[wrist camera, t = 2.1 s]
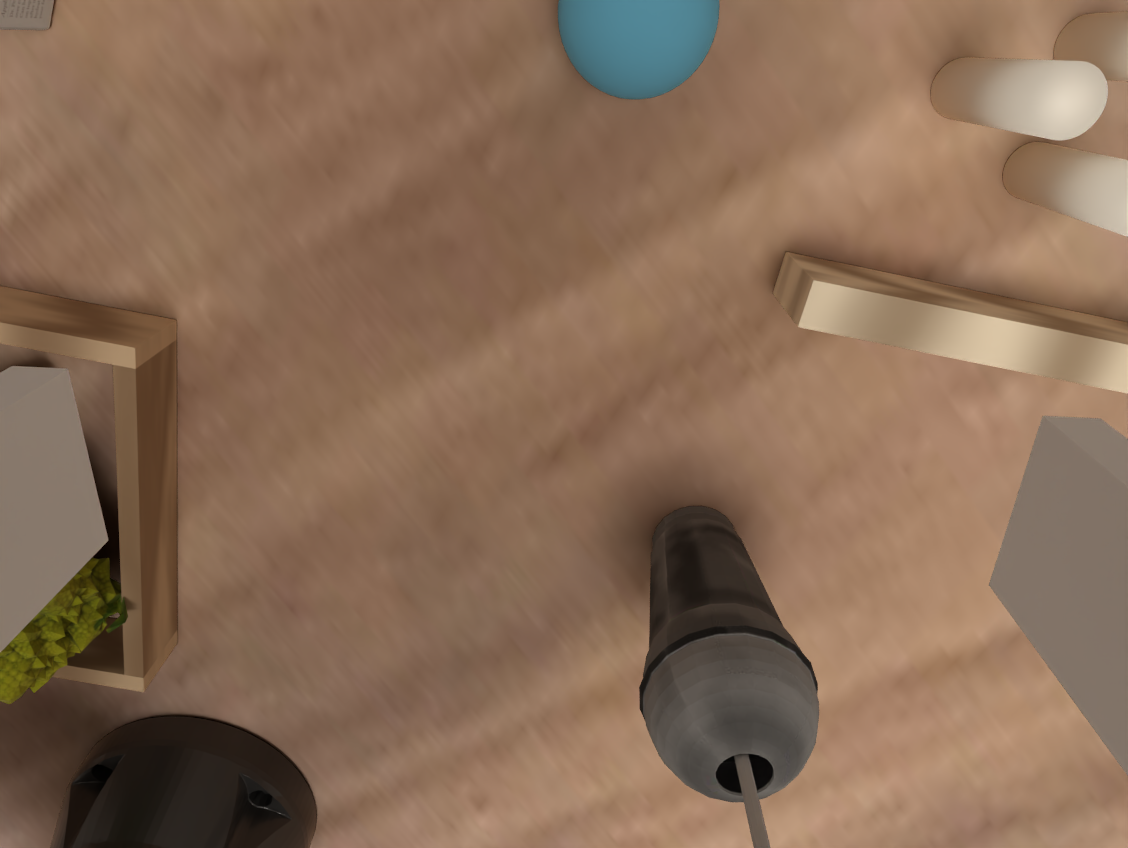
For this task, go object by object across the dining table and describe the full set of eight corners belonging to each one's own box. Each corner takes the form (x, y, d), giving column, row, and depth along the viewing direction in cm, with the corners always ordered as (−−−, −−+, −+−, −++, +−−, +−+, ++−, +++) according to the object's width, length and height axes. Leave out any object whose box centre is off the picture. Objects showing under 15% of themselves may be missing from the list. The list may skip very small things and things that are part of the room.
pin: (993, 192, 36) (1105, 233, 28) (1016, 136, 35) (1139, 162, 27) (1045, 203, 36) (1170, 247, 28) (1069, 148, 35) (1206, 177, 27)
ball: (547, 78, 34) (540, 85, 29) (576, -85, 32) (574, -112, 26) (686, 108, 35) (704, 120, 29) (725, -51, 32) (753, -71, 27)
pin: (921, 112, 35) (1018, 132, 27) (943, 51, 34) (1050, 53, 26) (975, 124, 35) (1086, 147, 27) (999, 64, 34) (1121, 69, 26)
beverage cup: (638, 606, 46) (673, 975, 28) (614, 495, 43) (636, 826, 25) (769, 586, 45) (893, 952, 27) (754, 471, 42) (883, 796, 24)
